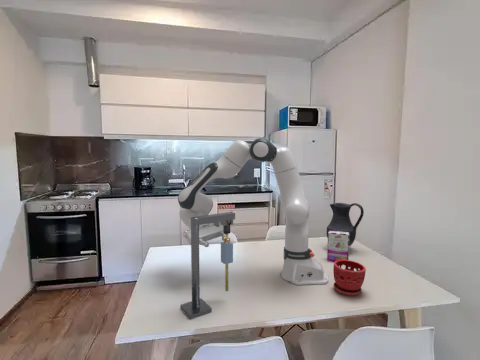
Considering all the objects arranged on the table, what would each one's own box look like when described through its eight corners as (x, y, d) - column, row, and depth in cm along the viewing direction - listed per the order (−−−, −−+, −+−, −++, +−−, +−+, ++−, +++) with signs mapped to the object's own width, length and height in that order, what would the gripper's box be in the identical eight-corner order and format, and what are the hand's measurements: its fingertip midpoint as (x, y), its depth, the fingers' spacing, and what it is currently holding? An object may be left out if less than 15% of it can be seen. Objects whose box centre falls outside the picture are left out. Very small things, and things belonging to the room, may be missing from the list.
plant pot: (347, 300, 122) (349, 273, 120) (326, 287, 134) (327, 261, 132) (371, 294, 127) (372, 268, 126) (348, 281, 139) (349, 257, 137)
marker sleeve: (228, 259, 123) (228, 240, 122) (232, 262, 120) (233, 243, 119) (220, 261, 121) (220, 242, 120) (225, 264, 118) (225, 244, 117)
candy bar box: (348, 260, 165) (349, 232, 163) (348, 264, 160) (349, 234, 158) (327, 257, 169) (328, 229, 167) (326, 260, 164) (327, 232, 162)
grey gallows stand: (227, 293, 127) (227, 210, 123) (238, 302, 120) (239, 214, 116) (180, 308, 115) (178, 217, 111) (190, 319, 108) (188, 222, 104)
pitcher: (331, 243, 194) (333, 198, 190) (364, 250, 182) (367, 202, 178) (321, 251, 180) (323, 202, 176) (357, 258, 168) (359, 206, 164)
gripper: (181, 227, 133) (196, 243, 123) (218, 216, 145) (235, 230, 135) (180, 238, 135) (195, 255, 126) (217, 226, 147) (234, 241, 138)
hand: (216, 242), depth 131 cm, fingers open, 8 cm apart
